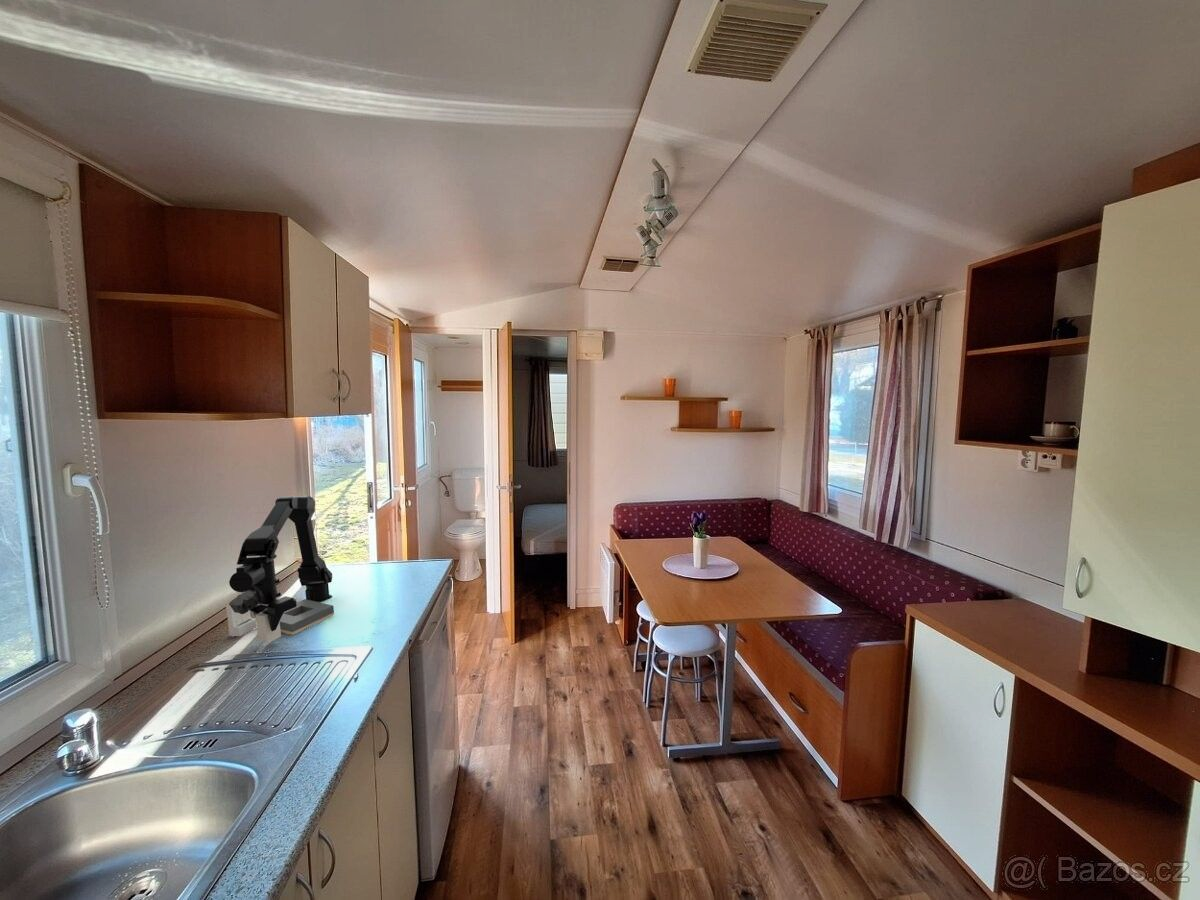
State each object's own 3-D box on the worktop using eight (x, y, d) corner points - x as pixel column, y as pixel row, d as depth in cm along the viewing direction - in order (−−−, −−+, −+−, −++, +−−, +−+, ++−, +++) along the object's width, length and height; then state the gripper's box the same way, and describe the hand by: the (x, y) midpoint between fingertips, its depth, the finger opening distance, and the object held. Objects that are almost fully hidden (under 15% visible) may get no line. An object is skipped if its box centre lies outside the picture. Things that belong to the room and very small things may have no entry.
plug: (272, 634, 140) (269, 605, 139) (281, 636, 139) (278, 607, 138) (258, 640, 137) (255, 611, 136) (267, 643, 135) (264, 613, 134)
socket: (305, 608, 161) (304, 599, 161) (334, 615, 156) (333, 605, 156) (263, 627, 149) (262, 617, 148) (292, 635, 143) (291, 624, 143)
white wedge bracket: (214, 635, 139) (226, 604, 142) (243, 636, 148) (253, 607, 151) (224, 636, 138) (235, 605, 142) (253, 637, 147) (263, 608, 151)
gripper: (212, 584, 132) (218, 636, 134) (254, 593, 125) (260, 649, 127) (254, 570, 142) (259, 619, 144) (295, 578, 135) (300, 629, 137)
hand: (268, 629), depth 137 cm, fingers closed on plug, 4 cm apart
